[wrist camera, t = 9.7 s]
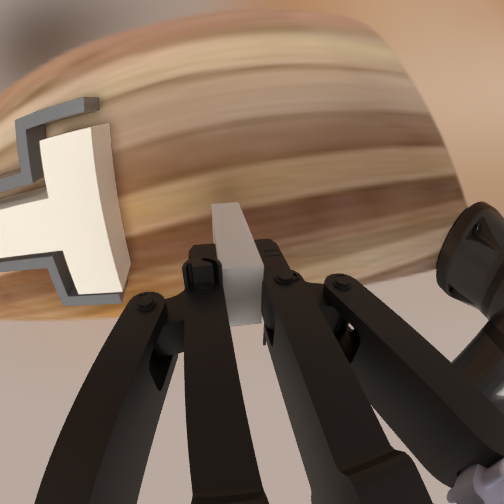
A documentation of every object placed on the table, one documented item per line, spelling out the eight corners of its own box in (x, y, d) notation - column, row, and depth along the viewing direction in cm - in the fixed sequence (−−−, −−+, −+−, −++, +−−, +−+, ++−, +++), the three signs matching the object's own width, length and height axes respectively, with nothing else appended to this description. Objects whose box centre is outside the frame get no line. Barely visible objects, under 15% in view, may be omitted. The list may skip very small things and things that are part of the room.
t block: (109, 122, 16) (90, 127, 13) (131, 263, 22) (122, 291, 19) (-10, 158, 14) (-36, 171, 10) (21, 272, 20) (5, 297, 16)
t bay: (98, 97, 15) (83, 97, 12) (127, 281, 23) (121, 303, 20) (-32, 146, 12) (-51, 154, 9) (8, 289, 20) (-3, 306, 18)
